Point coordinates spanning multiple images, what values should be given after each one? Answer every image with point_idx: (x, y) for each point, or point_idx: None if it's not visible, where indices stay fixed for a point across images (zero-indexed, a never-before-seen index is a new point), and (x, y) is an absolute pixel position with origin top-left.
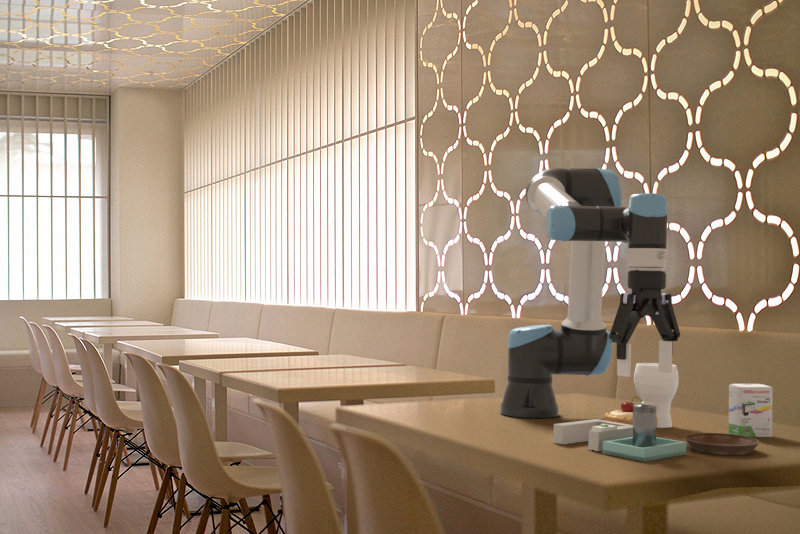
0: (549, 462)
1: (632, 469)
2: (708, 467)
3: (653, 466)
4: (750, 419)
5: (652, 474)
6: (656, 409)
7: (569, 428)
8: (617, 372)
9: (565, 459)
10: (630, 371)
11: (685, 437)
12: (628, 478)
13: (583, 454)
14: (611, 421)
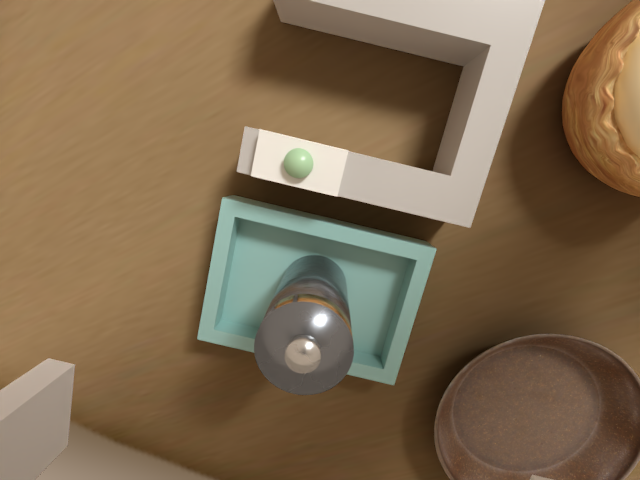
0: (11, 145)
1: (106, 338)
2: (264, 452)
3: (177, 360)
4: None
5: (92, 390)
6: None
7: (310, 6)
8: (29, 373)
9: (80, 156)
10: (37, 475)
11: (503, 345)
12: (13, 369)
13: (183, 158)
14: (593, 50)
